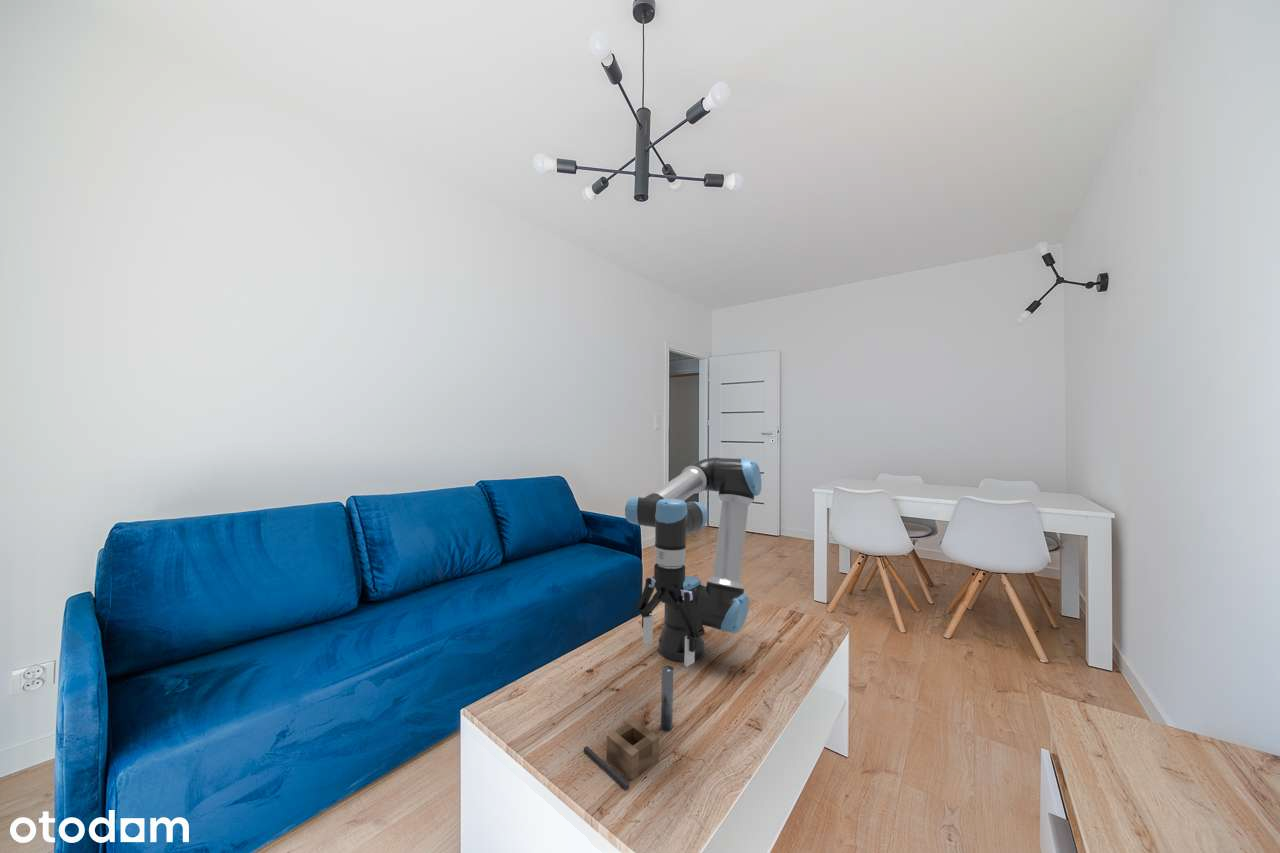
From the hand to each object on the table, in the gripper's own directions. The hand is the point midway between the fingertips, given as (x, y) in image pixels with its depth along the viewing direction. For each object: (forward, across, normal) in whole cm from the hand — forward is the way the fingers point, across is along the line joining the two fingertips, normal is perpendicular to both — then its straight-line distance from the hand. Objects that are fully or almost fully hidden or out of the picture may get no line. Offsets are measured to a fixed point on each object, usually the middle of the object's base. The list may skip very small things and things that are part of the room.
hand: (667, 652), depth 104 cm
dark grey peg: (+18, 0, 0) cm, 18 cm away
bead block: (+18, +2, -12) cm, 22 cm away
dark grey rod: (+18, 0, -18) cm, 26 cm away
